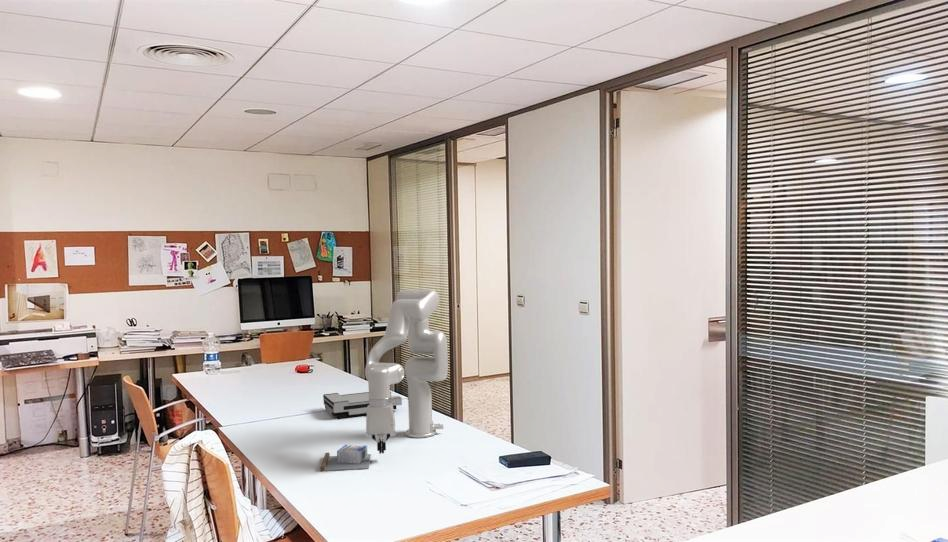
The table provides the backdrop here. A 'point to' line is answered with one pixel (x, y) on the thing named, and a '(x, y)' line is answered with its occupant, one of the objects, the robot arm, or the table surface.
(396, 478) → the table surface
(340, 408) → the game console
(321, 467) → the walnut stop strip
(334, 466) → the slate mat
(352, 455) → the medicine box
